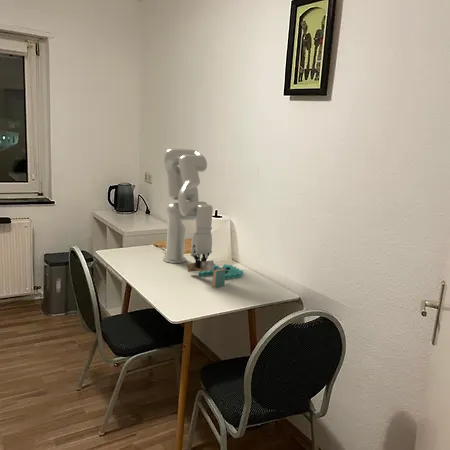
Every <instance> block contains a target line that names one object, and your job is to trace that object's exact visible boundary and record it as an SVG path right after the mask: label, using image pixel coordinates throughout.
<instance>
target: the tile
mask: <svg viewBox="0 0 450 450" xmlns="http://www.w3.org/2000/svg"><path fill="white" fill-rule="evenodd" d="M221 268H222V267H221ZM225 272H226V269H223V268H222V269H217V270H214V271H213V275H212V284H211V285H212V286H211V287H212V288H214V289H217V288H221V287H224V286H225V283H226V281H225V280H226V279H225Z"/></svg>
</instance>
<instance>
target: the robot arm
mask: <svg viewBox="0 0 450 450" xmlns="http://www.w3.org/2000/svg"><path fill="white" fill-rule="evenodd" d="M163 163H164V167H165V168H164V169H165V170H166V173H167V189H168V197H169V199H170V200H173V201H177V202H171V203H170V204H168V205H167V206H166V207H167V208H166V216H167V217H166V218H167V233H166V248H165V250H163V251H162V253H163V254H164V256H163V257H162V260H163V261H164V262H166V263H170V264H183V263H185V262H187V258H186V257H185V256H184V255H185V242H186V241H185V238H186V227H185V226H184V224H183V223H182V222H183V221H195V227H194V230H195V231H194V232H193V234H192V239H191V243H190V257H192V258H194V260H195V262H194V263H195V267H196V268H198V269H200V265H201V262H204V261H207V260H208V258H209V256H210V255H211V254H212V252H213V250H212V247H213V237H212V236H213V235H212V229H213V227H212V222H213V211H214V210H213V206H212V204H211V205H210V204H208V203H207V202H206V201H199V200H200V199H199V190H198V186H199V185H200V183H201V179H200V176H199V175H200V174H199V173H201V172H203V173H204V172H205V171H206V170H207V168H208V162H207V158H206V157H205V156H204V155H203V154H202V153H201V152H199V151H198V150H196V149H190V148H189V149H188V148H169V149H166V151H165V153H164V156H163Z"/></svg>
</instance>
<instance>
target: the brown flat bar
mask: <svg viewBox="0 0 450 450" xmlns="http://www.w3.org/2000/svg"><path fill="white" fill-rule="evenodd" d="M214 264H215V263H214V260H206V261H204V262H201V265H200V269H198V268H196V267H195V262H190V263H186V266H187V267H186V268H187V272H188V273H191V272H200V271H201V272H203V271H210V270H213V269H215V268H214Z"/></svg>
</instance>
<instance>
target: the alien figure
mask: <svg viewBox="0 0 450 450" xmlns="http://www.w3.org/2000/svg"><path fill="white" fill-rule="evenodd" d="M214 268H215V269H211V270H204V271H198V277H204V276H206V277H208V276H213V271H214V270H217V269H222V268H223V269H226V272H225V280H226V279H227V280H231V279H236V278H239V279H240V278H241V277H242V276H243V273H244V270H241V269H240V268H237V266H233V264H226V263H225V264H223V265H222V266H220V267H219V265H216V263H214Z"/></svg>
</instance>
